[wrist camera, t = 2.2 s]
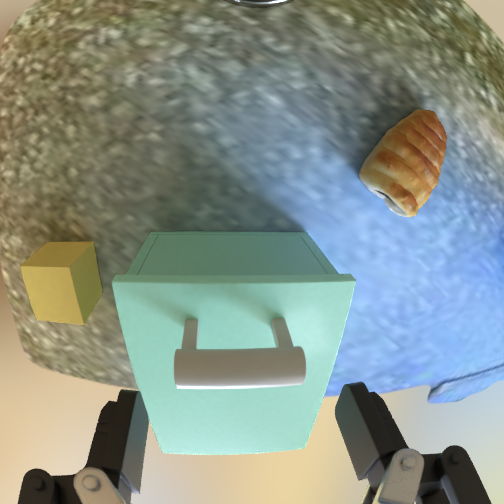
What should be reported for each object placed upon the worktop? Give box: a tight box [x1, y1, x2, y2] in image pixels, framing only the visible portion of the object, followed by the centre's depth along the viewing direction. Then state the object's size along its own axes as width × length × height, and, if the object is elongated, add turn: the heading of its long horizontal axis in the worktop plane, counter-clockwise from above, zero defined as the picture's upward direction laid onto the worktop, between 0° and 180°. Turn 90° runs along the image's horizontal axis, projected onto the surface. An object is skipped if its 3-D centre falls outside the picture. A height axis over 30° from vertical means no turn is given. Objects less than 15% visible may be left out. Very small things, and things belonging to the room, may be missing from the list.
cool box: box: [125, 231, 339, 276], centre depth 23 cm, size 17×13×9 cm
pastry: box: [359, 110, 447, 217], centre depth 20 cm, size 9×7×4 cm
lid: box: [112, 274, 356, 455], centre depth 16 cm, size 17×13×5 cm
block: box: [20, 241, 103, 325], centre depth 21 cm, size 5×5×5 cm
